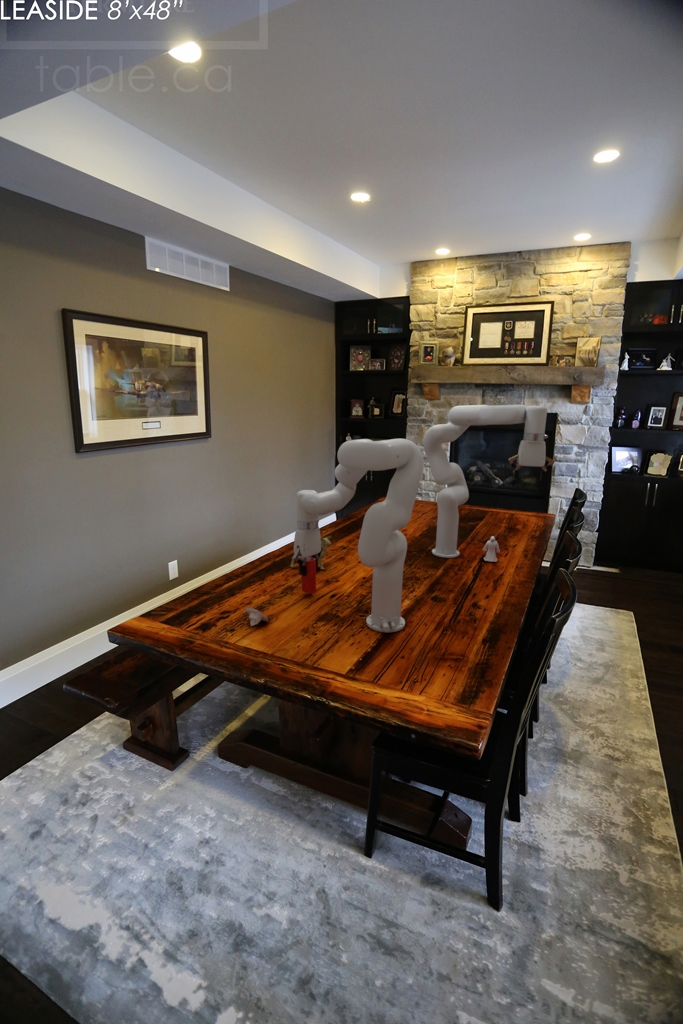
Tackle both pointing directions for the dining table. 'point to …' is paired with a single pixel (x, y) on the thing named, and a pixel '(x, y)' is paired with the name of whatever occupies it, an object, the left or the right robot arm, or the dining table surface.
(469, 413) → the right robot arm
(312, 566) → the tin
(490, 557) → the figurine
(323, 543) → the toy
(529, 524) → the dining table surface
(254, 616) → the seashell
